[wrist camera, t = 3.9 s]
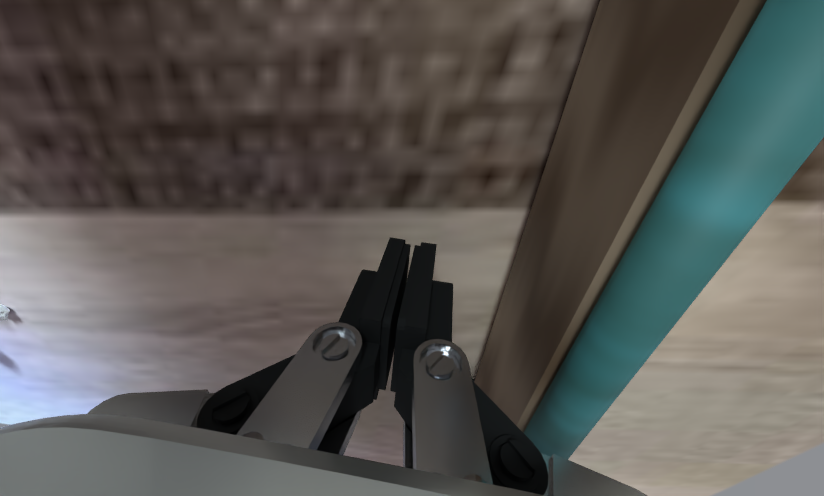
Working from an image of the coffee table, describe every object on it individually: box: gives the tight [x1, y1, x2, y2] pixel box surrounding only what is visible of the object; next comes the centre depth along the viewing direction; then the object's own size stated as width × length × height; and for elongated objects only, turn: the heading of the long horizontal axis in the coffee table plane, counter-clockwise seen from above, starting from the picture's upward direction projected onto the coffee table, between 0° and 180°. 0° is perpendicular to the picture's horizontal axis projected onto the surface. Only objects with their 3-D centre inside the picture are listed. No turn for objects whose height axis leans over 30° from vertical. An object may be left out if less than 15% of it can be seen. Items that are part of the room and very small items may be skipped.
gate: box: [474, 0, 824, 460], centre depth 8 cm, size 20×2×6 cm, turn 175°
